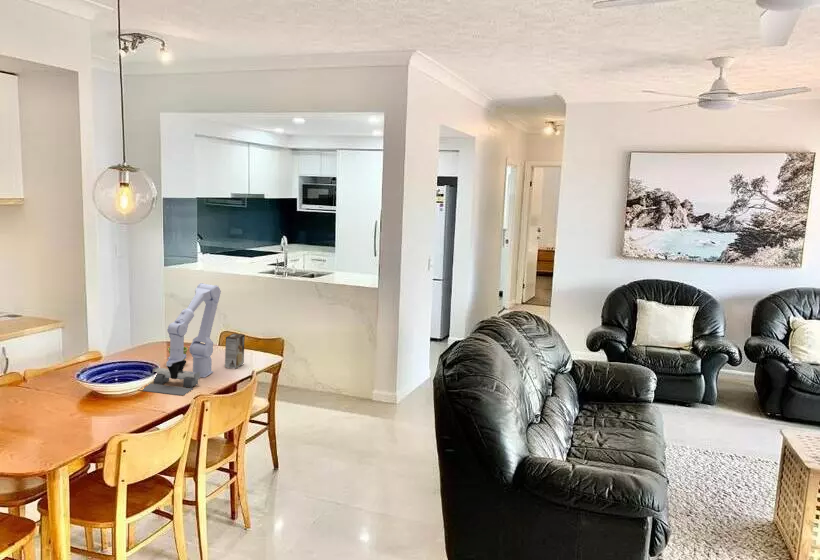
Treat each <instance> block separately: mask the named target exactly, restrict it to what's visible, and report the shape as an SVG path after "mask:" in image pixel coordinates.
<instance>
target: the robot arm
mask: <svg viewBox="0 0 820 560" xmlns="http://www.w3.org/2000/svg"><path fill="white" fill-rule="evenodd" d="M221 292H222V290H221V288H220V287H219V285H216V284H215V285H214V284H207V283H198V285H197V287H196V288H195V290H194V293H195V294H194V295H193V297H192V299H191V301H190V303H189V304H188V306H187V308H184V309H182V310H181V312H180V314H178V316H177V318H176V319H175V320H174V321H173V322H171V323H169V325H168V327H167V333H168V337H169V339H170V340H169V343H170V344H169V348H170V354H169V356H168V357H167V361H166V364H165V365H166V368H167V369H169V371H170V375H171V378H170V379H171V380H177V379H176V378H177V373H178V370H182V371H184V370H183V369H184V367H185V365H186V364H187V360H184V359H187V353H186V354H183V351H184V347H185V344H184V343H185V342H184V341H185V340H184V339H185V335H186V334H187V333H188V328H189V324H190V323H191V321H192V320H193V318H194V317H195V312H196V310H197V309H198V308H199V307H200V305H201V304H202V303H203V302H204V304H205V306H204V310H203V314H202V318H201V321H200V322H201V323H200V326H199V331H198V334H197V336H195V337H194V338H193V339H192V342H191V344H190V346H189V348H188V350H189V353H190V355H191V357H192V372H200V378H206V377H208V376H210V375H212V373H214V371H213V370H212V364H213V363H212V362H213V361H212V360H213V359H212V357H211V356H212V355H213V353H214V342H213V340H212V339H211V334H212V330H213V325H214V321H215V317H216V313H217V309H218V303H219V302H220V297H221V294H222V293H221Z"/></svg>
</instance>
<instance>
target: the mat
mask: <svg viewBox="0 0 820 560" xmlns="http://www.w3.org/2000/svg"><path fill="white" fill-rule="evenodd" d="M148 384H149V383H148ZM191 390H192V391H193V390H194V388H193V387H192V388H186V387H183V386H175V385H174V386H173V385H167V384H166V385H165V384H162V385H161V384H154V383H150V384H149V385H148V386H146V387H145V388H144V389H143V391H142V392H146V393H147V392H148V393H157V394H165V395H173V396H180V395H184V396H186V395H187V394H189V393H190V392H192V391H191ZM189 391H190V392H189ZM188 392H189V393H188ZM186 393H187V394H186ZM185 394H186V395H185Z"/></svg>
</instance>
